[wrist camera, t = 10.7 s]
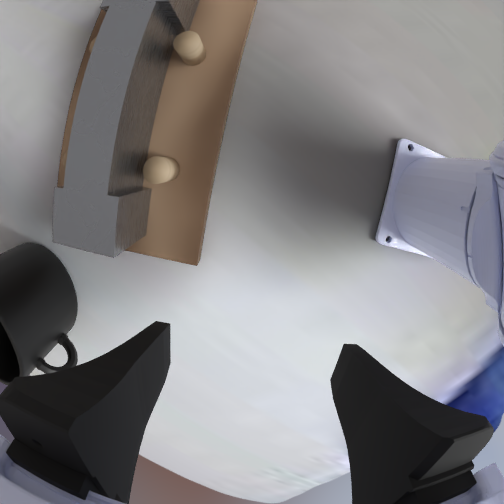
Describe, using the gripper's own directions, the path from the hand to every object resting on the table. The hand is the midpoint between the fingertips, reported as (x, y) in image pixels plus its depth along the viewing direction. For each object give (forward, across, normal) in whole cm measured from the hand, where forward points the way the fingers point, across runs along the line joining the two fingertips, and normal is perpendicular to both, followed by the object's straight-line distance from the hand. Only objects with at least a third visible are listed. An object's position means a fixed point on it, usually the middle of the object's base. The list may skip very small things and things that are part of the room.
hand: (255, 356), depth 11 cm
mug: (+10, +18, +6) cm, 22 cm away
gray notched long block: (+9, +9, -11) cm, 17 cm away
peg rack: (+10, +9, -11) cm, 17 cm away
